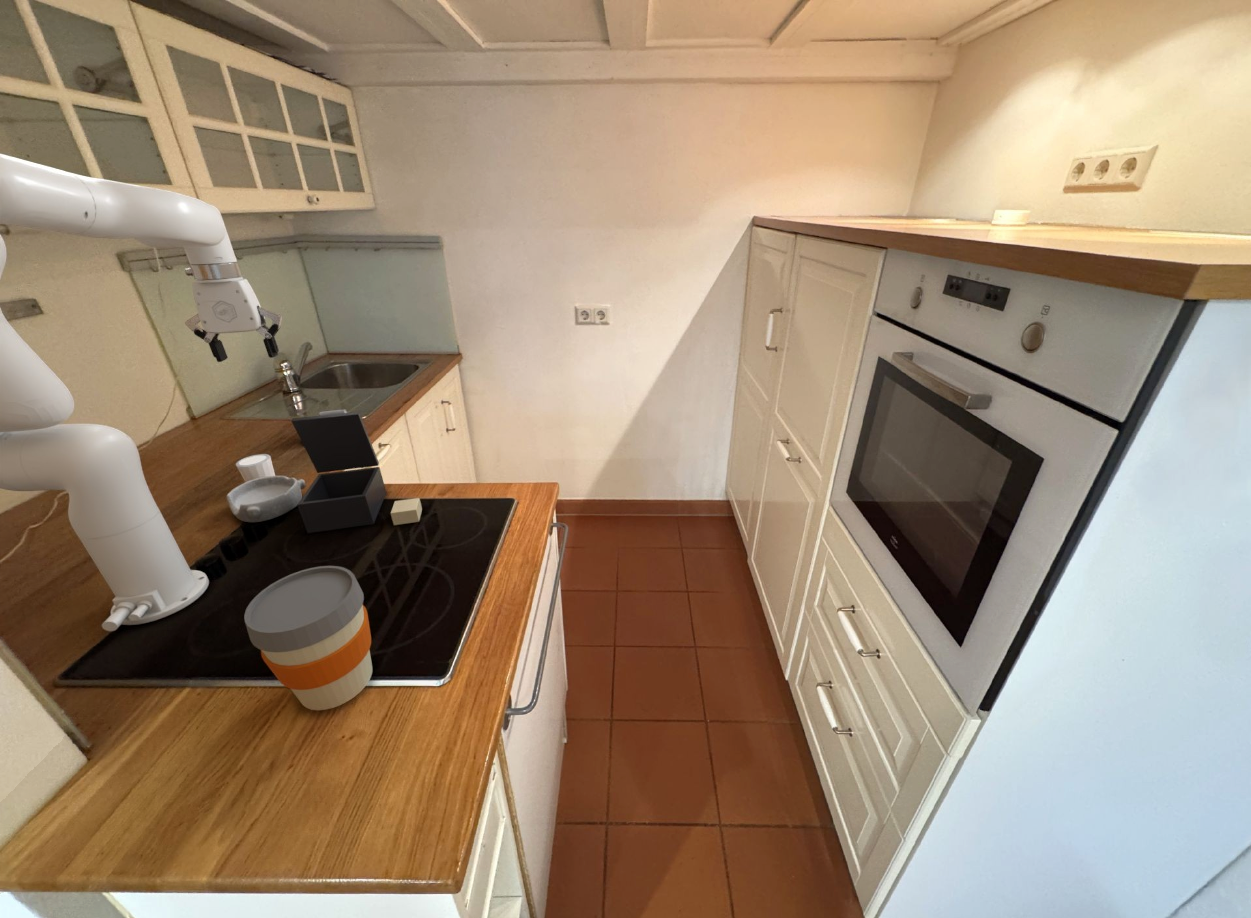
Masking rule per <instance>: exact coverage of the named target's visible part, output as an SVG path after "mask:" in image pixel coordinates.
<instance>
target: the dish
mask: <svg viewBox="0 0 1251 918" xmlns="http://www.w3.org/2000/svg"><path fill="white" fill-rule="evenodd" d="M306 486H307V485H306V481H305V480H304V479H302V478H299V479H298V480H297V478H296V477H288V476H286V475H275V476H269V477H262V478H257V479H253V480H250V481H248V482H244V483H241V484H239V485H238V486H236V487H234V488H233V489H231V490H230V491H229V492H228V493H227V495H226V501H227V504H228V506H229V509H230V511H231V513H232V514H233V515H234V517H236V518H237V519H238V520H240V521H242V522H245V523H260V522H265V521H269V520H272V519H276V518H278V517H280V516H282V515H285V514H287V513H289V512H290V511H292V510H293V509H295V508H296V507H298V506H297V504H298V503H299V501H300V500H301V499H302V497H303V493H302V490H304V489H305V488H306Z"/></svg>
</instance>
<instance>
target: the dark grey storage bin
mask: <svg viewBox="0 0 1251 918" xmlns="http://www.w3.org/2000/svg"><path fill="white" fill-rule="evenodd" d="M387 493H388V492H387V489H386V486H385V482H384V478H383V475H382V471H381V468H380V466H372V467H363V468H355V469H347V470H339V471H330V472H322V473H317V476H316V477H315V478H314V480H313V482H312V483H311V485H310V486H309V487H308V488H307V490H306V491H305V493H304V494H303V495H302V499H301V500H300V501H299V503H298V504H297V506H296V507H297V509H298V511H299V513H300V517H301V519H302V522H303V524H304V528H305V529H306V532H307V534H313V533H319V532H327V531H333V530H341V529H348V528H356V527H362V526H370V525H374V524H375V522H376V520H377V517H378V515H379V513H380V509H381V507H382V505H383V502H384V500H385V498H386V496H387Z"/></svg>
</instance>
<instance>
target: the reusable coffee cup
mask: <svg viewBox="0 0 1251 918" xmlns="http://www.w3.org/2000/svg"><path fill="white" fill-rule="evenodd" d="M364 600H365V596H364V592H363V589H362V588H361V586H360V584H359V582H358V580H357V578H356V575H355V573H353V572H352V571H351V570H350V569H348V568H346V567H343V566H339V565H319V566H315V567H314V566H313V567H310V568H309V567H308V568H305V569H302V570H299V571H297V572H293V573H291V574H289V575H286V576H284V577H281V578H280V579H278V580H276V581H274V582H273V583H271V584H269V585H268V586H267V587H265V588H264V589H262V590H261V591H260V592H259V593H258V594H257V595H255V597H253V599H252V600H251V601H250V602H249V604H248V606H247V607H246V609H245V612H244V615H243V616H244V618H243V619H244V623H245V627H246V630H247V633H248V637H249V640H250V642H251V644H252V646H253V647H255V648H257V650H260V655H261V658H262V660H263V662H264V663H265V665H266V666H267V667H268V668H269V670H270V671H271V672H272V674H274V676H275V678H276V679H277V680H278V681H279V682H280V684H281V685H282V686H284V687H285V688H288V689H290V690H291V691H292V693H293V695H294V696H295V697H296V699H298V701H299V702H300V703H301V705H302V706H303V707H305V708H306V709H308V710H310V711H326V710H331V709H334V708H336V707H339V706H342V705H343V704H346V703H347V702H349V701H350V700H352V699H354V698H355V697H356V696H357V695H359V694H360V693H361V692H362V691H363V690H364V689H365V688H366V686H367V685H368V683H369V682H370V680H371V678H372V675H373V663H372V657H371V650H370V649H371V645H372V635H371V627H370V621H369V614H368V610H367V608H366V606H365V605H364Z"/></svg>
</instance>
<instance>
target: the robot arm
mask: <svg viewBox="0 0 1251 918" xmlns="http://www.w3.org/2000/svg"><path fill="white" fill-rule="evenodd" d="M0 225H7V226H16V227H21V228H23V227H24V228H28V229H36V230H44V231H49V232H57V233H62V234H63V233H64V234H68V235H74V236H80V237H86V238H92V239H93V238H94V239H114V240H117V239H118V240H119V239H120V240H125V239H127V240H128V239H134V240H135V241H136V242H138V243H139V244H142V245H144V246H146V247H147V246H148V247H149V248H150V247H151V248H156V249H180V248H183V250H184V253H185V255H186V258H187V260H188V262H189V263H188V264H189V267H188V268H184V273H185V275H186V276H188V277H189V276H190V277H193V279H194V280H195V281H193V282H192V283H191V289H192V293H193V298H194V303H195V304H194V305H195V307H196V311H197V314H195V315H193V316H191V317H190V318H189V319H187V320H185V322H184V324H185V326H186V327H187V328H188V329H189V330H190V331H192V332H193V334H194V335H195V336H196V337H198V338H200V339H201V340H203V341H204V343H206V344H208V346H209V348H210V351H211V353H212V356H213V358H215V359H216V361H217V363H221V362H224V361H226V360H228V359H229V358H228V354H227V352H226V348H225V347H224V344H223V341H222V340H221V339H219V337H220V334H234V333H249V332H254V331H256V332H257V333H259V334H260V335H261V336H262V337H264V339H262V340H263V344H264V347H265V350H266V353H267V356H268V357H269V358H270V359H271V358H273V359H274V358H275V357H276V356H278V355H279V353H280V350H279V346H278V343H277V341H276V340H277V339H276V338H275V336H276V335H277V333H278V332H279V330H280V329H281V326H282V321H283V315H282V314H280V313H278V312H274V311H272V310H270V309H266V308H264V307H262V306H261V303H260V301H259V299H258V297H257V295H256V293H255V291H254V289H253V286H252V285H251V284H250V282H249V281H248V279H247V278H244V277H243V274H242V272H241V269H240V265H239V262H238V260H237V257H236V254H235V251H234V248H233V245H232V242H231V239H230V237H229V233H228V230H227V228H226V225H225V222H224V219H223V216H222V214H221V211H220V210H219V209H218V208H217V207H216V206H215V205H213V204H210V203H208V202H206V201H204V200H202V199H200V198H197V197H193V196H190V195H187V194H184V193H180V192H176V191H171V190H168V189H167V190H166V189H163V188H156V187H150V186H145V185H137V184H133V183H127V182H121V181H116V180H111V179H103V178H98V177H97V178H96V177H92V176H85V175H82V174H78V173H73V172H70V171H66V170H62V169H58V168H55V167H52V166H49V165H44V164H40V163H36V162H33V161H29V160H26V159H22V158H18V157H14V156H12V155H7V154H3V153H0ZM7 253H8V252H7V246H6V243H5V240H4V238H3V236H2V235H1V233H0V280H1V279H2V276H3V273H4V270H5V266H6V265H7V264H6V263H7V258H8V257H7V256H8V254H7ZM266 318H267V319H270V320H272V323H271V325H270V327H269V326H268V325H267V321H266ZM200 323H201V325H202V327H201V326H200V325H199V324H200ZM70 391H71V390H69V388H68V387H67V385H65V383H64V382H63V381H62V379H60V378H59V377H58V375H57V374H56V373H55V372H54V371H53V370H52V368H50V366H48V365H47V364H46V362H45V361H44V360H43V359H42V358H40V356H39V355H38V354H37V352H35V351H34V350H33V348H32V347H31V346H30V345H29V344H28V343H27V342H26V341H25V340H24V339H23V338H22V337H21V335H20V334H19V333H18V332H17V331H16V329H14V327H13V326H12V325H11V323H10V322H9V321H8V319H7V318H6V316H5V315H4V313H3V310H2V307H0V489H2V490H5V491H12V492H13V491H14V492H38V491H39V492H41V491H42V492H43V491H65V492H67V493H68V497H69V499H68V508H67V517H68V522H69V523H70V526H71V527H72V529H73V531H74V533H75V534H76V536H77V537H78V539H79V540H80V542H81V544H82V545H83V547H84V549H85V551H86V552H87V553H88V555H89V556H90V558H91V559H92V562H93V563H94V564H95V566H96V568H97V569H98V571H99V573H100V574H101V576H102V577H103V579H104V580H105V582H106V584H107V585H108V587H109V589H110V591H111V592H112V594H113V595H114V598H113V599H112V600H111V602H112V603H113V605H112V606H111V609H110V615H109V616H108V617H107V618H106V619H105V620H104V621H103V622H102V624H101V627H102V629H103V630H104V631H105V632H115V631H117V630H118V629H119V628H120V626H121V625H122V626H137V625H143V624H147V623H150V622H151V623H152V622H155V621H158V620H161V619H163V618H166V617H168V616H171V615H173V614H175V613H177V612H179V611H181V610H183V609H185V608H186V607H188V606H189V605H191V604H192V603H194V602H195V601H197V600H198V599H199V598H200V597H201V596H202V595H203V594H204V593H205V592H206V590H207V589H208V587H209V584H210V580H209V578H208V576H207V574H206V573H205V572H203V571H201V570H196V569H191V568H190V566H189V564H188V562H187V560H186V558H185V556H184V554H183V552H182V551H181V548H180V547H179V545H178V543H177V541H176V539H175V537H174V536H173V533H172V532H171V529H170V527H169V526H168V524H167V522H166V520H165V518H164V516H163V514H162V512H161V510H160V509H159V507H158V505H157V503H156V500H155V499H154V497H153V494H152V492H151V490H150V488H149V486H148V484H147V481H146V478H145V475H144V471H143V467H142V462H141V456H140V452H139V450H138V447H137V445H136V442H135V441H134V440H133V439H132V437H130V436H129V435H128V434H127V433H125V432H124V431H122V430H120V429H118V428H116V427H112V426H109V425H106V424H98V423H97V424H96V423H64V422H65V421H67V420H68V419H69V418H70V417H71V416H72V415H73V413H74V411H75V400H74V397H73V394H72V393H71V392H70Z"/></svg>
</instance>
